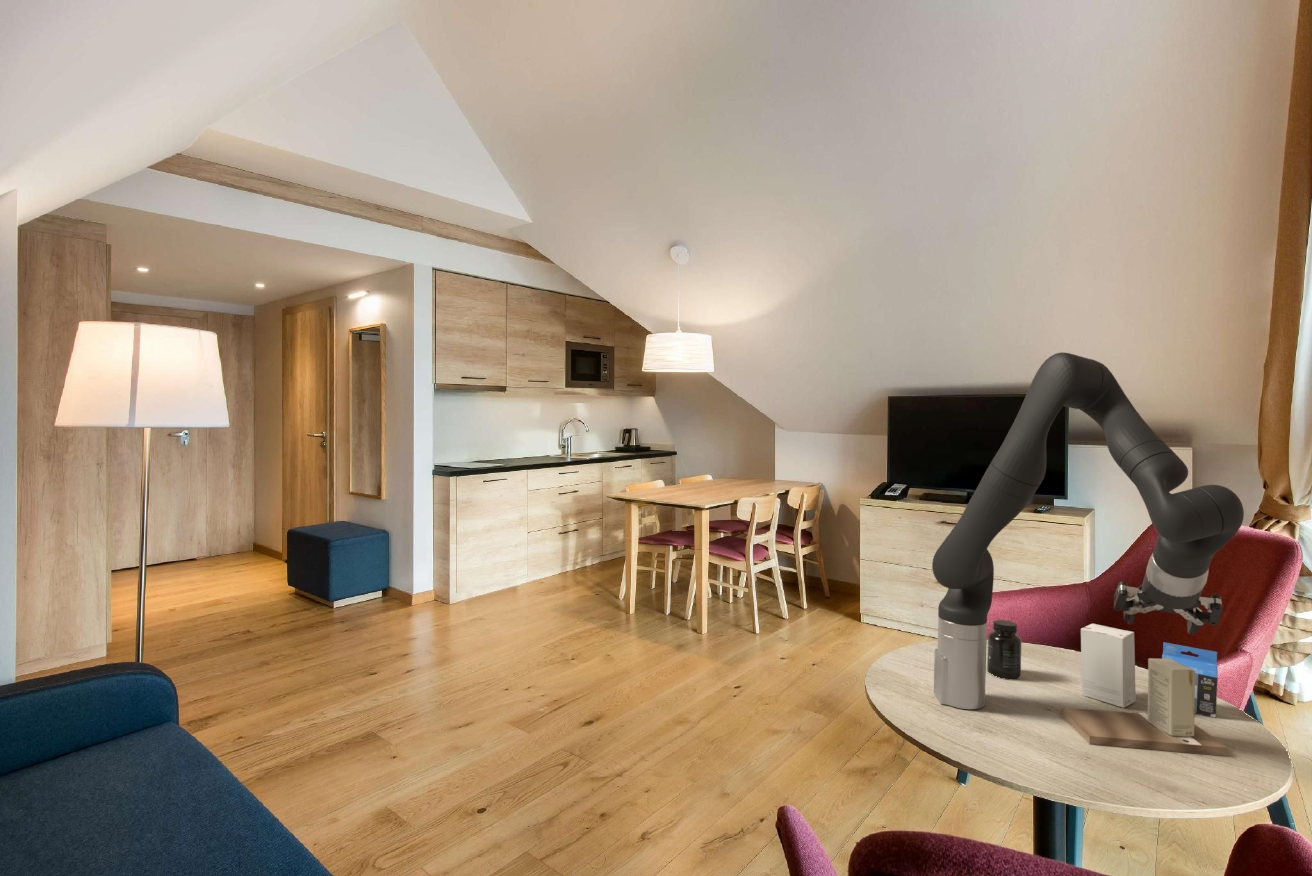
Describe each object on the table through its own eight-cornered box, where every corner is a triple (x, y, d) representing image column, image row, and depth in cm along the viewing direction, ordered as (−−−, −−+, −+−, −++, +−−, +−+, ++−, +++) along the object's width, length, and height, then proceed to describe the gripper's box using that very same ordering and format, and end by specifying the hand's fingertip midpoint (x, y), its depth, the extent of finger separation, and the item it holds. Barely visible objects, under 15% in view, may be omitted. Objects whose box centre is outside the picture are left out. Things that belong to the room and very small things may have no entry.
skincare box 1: (1135, 702, 136) (1138, 632, 135) (1123, 709, 132) (1125, 637, 132) (1091, 688, 143) (1093, 621, 142) (1078, 694, 139) (1080, 626, 139)
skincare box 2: (1195, 737, 118) (1197, 670, 117) (1170, 736, 118) (1173, 670, 117) (1168, 720, 124) (1170, 657, 124) (1145, 720, 124) (1147, 657, 124)
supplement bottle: (983, 667, 154) (984, 617, 154) (1014, 669, 153) (1016, 619, 152) (992, 678, 148) (993, 626, 147) (1025, 681, 146) (1026, 628, 146)
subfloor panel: (1089, 744, 118) (1089, 735, 118) (1060, 714, 130) (1060, 706, 130) (1227, 756, 114) (1227, 746, 114) (1184, 724, 126) (1184, 715, 126)
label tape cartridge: (1159, 705, 134) (1161, 646, 134) (1160, 699, 137) (1162, 641, 137) (1216, 718, 129) (1218, 657, 128) (1215, 711, 132) (1217, 651, 131)
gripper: (1230, 562, 103) (1208, 613, 114) (1121, 549, 111) (1110, 598, 121) (1236, 603, 99) (1213, 652, 110) (1122, 587, 107) (1110, 635, 117)
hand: (1159, 624), depth 116 cm, fingers open, 8 cm apart
